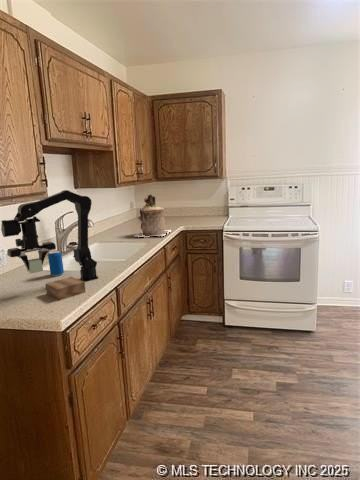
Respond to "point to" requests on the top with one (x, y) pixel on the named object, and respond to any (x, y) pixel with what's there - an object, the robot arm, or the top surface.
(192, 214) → the top surface
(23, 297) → the top surface
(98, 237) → the top surface
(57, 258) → the beverage can
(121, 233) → the top surface
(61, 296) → the walnut block
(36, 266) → the sage green block
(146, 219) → the cookie jar
